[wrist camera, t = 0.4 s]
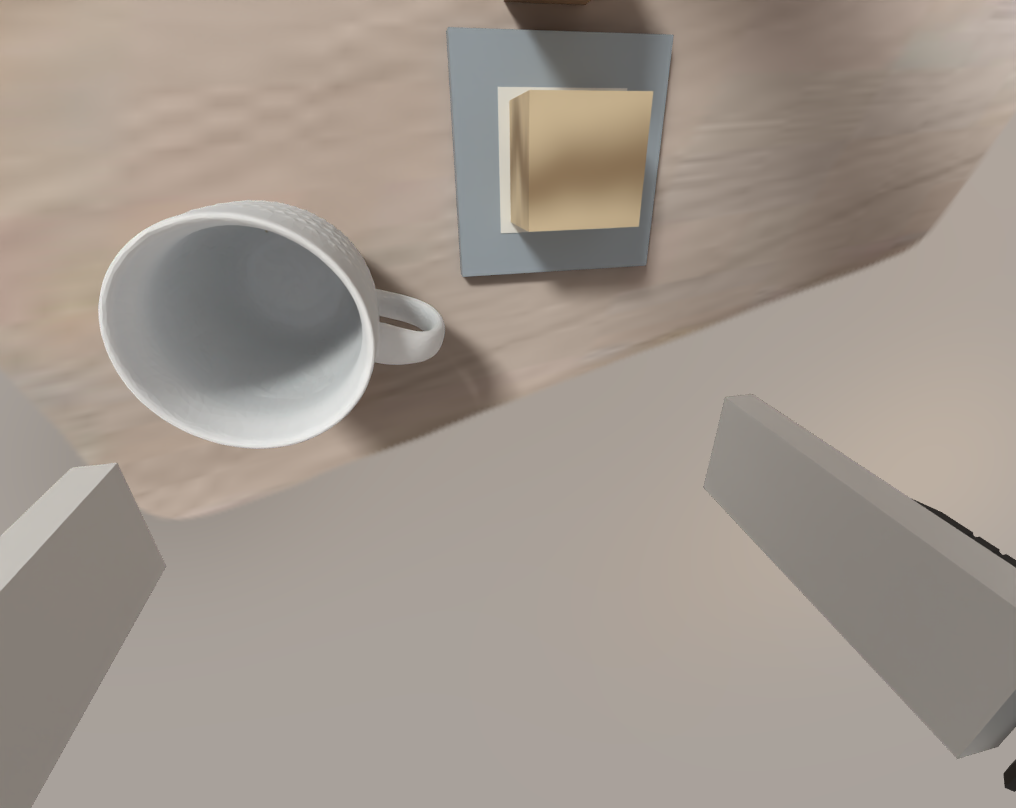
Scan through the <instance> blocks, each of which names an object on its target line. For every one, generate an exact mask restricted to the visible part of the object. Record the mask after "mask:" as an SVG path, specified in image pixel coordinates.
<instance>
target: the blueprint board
mask: <svg viewBox="0 0 1016 808" xmlns="http://www.w3.org/2000/svg"><path fill="white" fill-rule="evenodd" d="M446 36H447V52H448V69H449V85H450V101H451V118H452V134H453V151H454V167H455V183H456V200H457V216H458V233H459V249H460V265H461V275H462V276H463V277H468V276H484V275H500V274H517V273H533V272H549V271H565V270H581V269H597V268H613V267H629V266H645V265H646V262H647V254H648V245H649V237H650V228H651V220H652V212H653V203H654V195H655V186H656V178H657V170H658V161H659V153H660V144H661V136H662V128H663V119H664V111H665V102H666V94H667V86H668V77H669V69H670V61H671V52H672V44H673V35H666V34H636V33H606V32H576V31H546V30H516V29H486V28H456V27H448V28H447V31H446ZM528 90H588V91H653V99H652V108H651V118H650V127H649V136H648V145H647V155H646V164H645V173H644V183H643V192H642V201H641V210H640V220H639V227H621V228H600V229H578V230H556V231H534V232H528V231H526V230H525V229H523V228H521V227H519V226H517V225H515V224H513V223H511V203H510V118H509V101H510V100H511V99H513V98H515V97H517V96H519V95H521V94H523V93H525V92H527V91H528Z"/></svg>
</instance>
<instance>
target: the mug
mask: <svg viewBox="0 0 1016 808" xmlns="http://www.w3.org/2000/svg"><path fill="white" fill-rule="evenodd" d="M379 316H383V317H387V318H391V319H395V320H400V321H403V322H407V323H409V324H412V325H414V326H416V327H418V328H420V329H421V330H423V331H424V332H423V331H414V330H409V329H405V328H401V327H397V326H394V325H390V324H387V323H382V322H380V321H379V319H380V317H379ZM99 323H100V330H101V335H102V339H103V342H104V345H105V348H106V351H107V353H108V356H109V358H110V360H111V362H112V364H113V366H114V368H115V369H116V371H117V373H118V374H119V376H120V377H121V379H122V380H123V382H124V383H125V384H126V386H127V387H128V388H129V389H130V390H131V392H132V393H133V394H134V395H135V396H136V397H137V398H138V399H139V400H140V401H141V402H142V403H143V404H144V405H145V406H147V407H148V408H149V409H150V410H151V411H153V412H154V413H155V414H157V415H158V416H159V417H161V418H162V419H164V420H165V421H167V422H168V423H170V424H172V425H174V426H175V427H177V428H179V429H181V430H183V431H185V432H187V433H189V434H192V435H194V436H197V437H199V438H202V439H205V440H208V441H212V442H215V443H219V444H223V445H228V446H233V447H240V448H253V449H260V448H277V447H284V446H289V445H293V444H297V443H301V442H303V441H306V440H309V439H311V438H314V437H316V436H318V435H320V434H322V433H323V432H325V431H327V430H329V429H330V428H332V427H333V426H334V425H336V424H337V423H338V422H340V421H341V420H342V419H343V418H344V417H345V416H347V415H348V414H349V413H350V411H351V410H352V409H353V408H354V407H355V405H356V404H357V403H358V401H359V400H360V399H361V397H362V395H363V394H364V392H365V390H366V388H367V386H368V383H369V381H370V378H371V375H372V372H373V368H374V363H375V362H376V363H381V364H391V365H403V364H412V363H418V362H422V361H425V360H427V359H430V358H431V357H433V356H434V355H435V354H436V353H437V352H438V351H439V349H440V348H441V345H442V343H443V339H444V335H445V324H444V321H443V319H442V317H441V315H440V314H439V312H438V311H437V310H436V309H435V308H433V307H432V306H431V305H429V304H427V303H425V302H423V301H421V300H418V299H415V298H412V297H409V296H405V295H402V294H398V293H394V292H389V291H384V290H380V289H375V285H374V280H373V279H372V276H371V274H370V270H369V268H368V267H367V265H366V263H365V260H364V258H363V257H362V256H361V254H360V252H359V251H358V250H357V249H356V247H355V245H354V244H353V243H352V242H351V241H349V239H348V238H347V237H346V236H345V235H344V234H343V233H342V232H341V231H340V230H338V229H336V228H335V226H333V225H332V224H330V223H328V222H327V221H326V220H325V219H323V218H320V217H318V216H317V215H315V214H313V213H310V212H308V211H307V210H303V209H300V208H297V207H296V206H291V205H288V204H284V203H278V202H267V201H264V200H261V201H257V200H255V201H252V200H245V201H239V202H238V201H234V202H228V203H218V204H215V205H213V206H206V207H202V208H200V209H192V210H190V211H188V212H186V213H183V214H180V215H177V216H174V217H170V218H167V219H165V220H162V221H160V222H158V223H156V224H154V225H152V226H150V227H148V228H146V229H145V230H143V231H142V232H140V233H139V234H137V235H136V236H135V237H134V238H132V239H131V240H130V241H129V242H128V243H127V244H126V245H125V246H124V247H123V248H122V249H121V250H120V251H119V253H118V254H117V256H116V257H115V258H114V260H113V262H112V263H111V265H110V267H109V268H108V270H107V272H106V274H105V277H104V280H103V283H102V288H101V292H100V298H99Z"/></svg>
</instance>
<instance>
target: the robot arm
mask: <svg viewBox="0 0 1016 808" xmlns="http://www.w3.org/2000/svg"><path fill="white" fill-rule="evenodd" d="M704 489H705V490H706V491H707V492H708V493H709V494H710V495H711V496H712V497H713V498H714V499H715V500H716V502H717V503H718V504H719V505H720V506H721V507H722V508H723V509H724V510H725V511H726V512H727V513H728V514H729V515H730V517H731V518H732V519H733V520H734V521H735V522H736V523H737V524H738V525H739V526H740V527H741V528H742V529H743V530H744V531H745V533H746V534H747V535H748V536H749V537H750V538H751V539H752V540H753V541H754V542H755V543H756V544H757V545H758V546H759V547H760V549H761V550H762V551H763V552H764V553H765V554H766V555H767V556H768V557H769V558H770V559H771V560H772V561H773V562H774V563H775V565H776V566H778V568H779V569H780V570H781V571H782V572H783V573H784V574H785V575H786V576H787V577H788V578H789V579H790V581H791V582H792V583H793V584H794V585H795V586H796V587H797V588H798V589H799V590H800V591H801V592H802V593H803V595H804V596H805V597H806V598H807V599H808V600H809V601H810V602H811V603H812V604H813V605H814V606H815V607H816V608H817V609H818V611H820V613H821V614H822V615H823V616H824V617H825V618H826V619H827V620H828V621H829V622H830V623H831V624H832V625H833V627H834V628H835V629H836V630H837V631H838V632H839V633H840V634H841V635H842V636H843V637H844V638H845V639H846V640H847V641H848V643H849V644H850V645H851V646H852V647H853V648H854V649H855V650H856V651H857V652H858V653H859V654H860V655H861V656H862V658H863V659H864V660H865V661H866V662H867V663H868V664H869V665H870V666H871V667H872V668H873V669H874V670H875V671H876V673H878V675H879V676H880V677H881V678H882V679H883V680H884V681H885V682H886V683H887V684H888V685H889V686H890V687H891V689H892V690H893V691H894V692H895V693H896V694H897V695H898V696H899V697H900V698H901V699H902V700H903V701H904V702H905V703H906V704H907V706H908V707H909V708H910V709H911V710H912V711H913V712H914V713H915V714H916V715H917V716H918V717H919V718H920V719H921V721H922V722H923V723H924V724H925V725H926V726H927V727H928V728H929V729H930V730H931V731H932V732H933V733H934V735H936V737H937V738H938V739H939V740H940V741H941V742H942V743H943V744H944V745H945V746H946V747H947V748H948V749H949V750H950V752H951V753H952V754H953V755H954V756H955V757H956V758H957V759H959V758H962V757H965V756H969V755H972V754H976V753H979V752H982V751H985V750H989V749H992V748H995V747H998V746H999V745H1000V744H1001V743H1002V741H1003V740H1004V739H1005V738H1006V737H1007V736H1008V735H1009V734H1010V733H1011V731H1012V730H1013V729H1014V728H1015V727H1016V560H1015V559H1013V558H1011V557H1010V556H1008V555H1006V554H1005V555H1002V554H1001V553H1000V552H999V549H998V548H996V547H995V546H993V545H991V544H990V543H988V542H987V541H985V540H984V539H982V538H981V537H975V536H974V535H973V532H971V531H970V530H968V529H967V528H965V527H964V526H962V525H960V524H959V523H958V522H956V521H954V520H953V519H951V518H950V517H948V516H947V515H945V514H943V513H942V512H940V511H938V510H936V509H933V508H931V507H929V506H927V505H924V504H922V503H920V502H918V501H916V500H913V499H911V498H909V497H908V496H906V495H905V494H903V493H902V492H900V491H899V490H897V489H896V488H894V487H893V486H891V485H890V484H888V483H887V482H885V481H884V480H882V479H881V478H879V477H878V476H876V475H875V474H873V473H871V472H870V471H868V470H867V469H865V468H864V467H862V466H861V465H859V464H858V463H856V462H855V461H853V460H852V459H850V458H849V457H847V456H846V455H844V454H843V453H841V452H840V451H838V450H837V449H835V448H834V447H832V446H831V445H829V444H827V443H826V442H824V441H823V440H821V439H820V438H818V437H817V436H815V435H814V434H812V433H811V432H809V431H808V430H806V429H805V428H803V427H802V426H800V425H799V424H797V423H795V422H794V421H793V420H791V419H790V418H788V417H786V416H785V415H784V414H782V413H781V412H779V411H778V410H776V409H775V408H773V407H771V406H770V405H768V404H767V403H765V402H764V401H762V400H761V399H759V398H758V397H756V396H755V395H753V394H748V395H740V396H730V397H725V399H724V403H723V407H722V412H721V416H720V420H719V424H718V428H717V433H716V437H715V441H714V445H713V449H712V453H711V458H710V462H709V466H708V470H707V474H706V478H705V483H704ZM165 568H166V564H165V563H164V560H163V558H162V556H161V554H160V552H159V550H158V548H157V546H156V544H155V541H154V539H153V537H152V535H151V533H150V531H149V529H148V527H147V524H146V522H145V520H144V518H143V516H142V514H141V512H140V510H139V507H138V505H137V503H136V501H135V499H134V497H133V495H132V493H131V491H130V488H129V486H128V484H127V482H126V480H125V478H124V476H123V474H122V472H121V470H120V467H119V465H118V463H111V464H102V465H92V466H83V467H74V468H71V469H70V470H69V471H68V472H67V473H66V474H65V475H64V476H63V477H61V479H59V480H58V481H57V482H56V483H55V484H54V485H53V486H52V487H51V488H50V489H49V490H48V491H47V492H46V493H45V494H44V495H43V496H42V497H41V498H40V499H39V500H37V502H35V503H34V504H33V505H32V506H31V507H30V508H29V509H28V510H27V511H26V512H25V513H24V514H23V515H22V516H21V517H20V518H19V519H18V520H17V521H16V522H15V523H13V524H12V525H11V526H10V527H9V528H8V529H7V530H6V531H5V532H4V533H3V534H2V535H1V536H0V808H31V807H32V805H33V803H34V802H35V800H36V798H37V796H38V794H39V793H40V791H41V789H42V787H43V786H44V784H45V782H46V780H47V778H48V777H49V775H50V773H51V771H52V770H53V768H54V766H55V764H56V762H57V761H58V759H59V757H60V755H61V753H62V752H63V750H64V748H65V746H66V744H67V743H68V741H69V739H70V737H71V735H72V733H73V732H74V730H75V728H76V726H77V725H78V723H79V721H80V720H81V718H82V716H83V714H84V712H85V711H86V709H87V707H88V705H89V703H90V702H91V700H92V698H93V696H94V694H95V693H96V691H97V689H98V687H99V686H100V684H101V682H102V680H103V678H104V677H105V675H106V673H107V671H108V669H109V668H110V666H111V664H112V662H113V661H114V659H115V657H116V655H117V653H118V651H119V650H120V648H121V646H122V645H123V643H124V641H125V639H126V637H127V636H128V634H129V632H130V630H131V628H132V627H133V625H134V623H135V621H136V620H137V618H138V616H139V614H140V612H141V611H142V609H143V607H144V605H145V603H146V602H147V600H148V598H149V596H150V594H151V593H152V591H153V589H154V587H155V586H156V583H157V582H158V580H159V578H160V576H161V575H162V573H163V571H164V570H165ZM1004 784H1005V788H1007V789H1009V790H1012V791H1014V792H1015V791H1016V760H1015V761H1014V762H1013V763H1012V764H1011V765H1010V766H1009V767H1008V769H1007V770H1006V771H1005V772H1004Z"/></svg>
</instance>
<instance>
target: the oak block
mask: <svg viewBox="0 0 1016 808" xmlns="http://www.w3.org/2000/svg"><path fill="white" fill-rule="evenodd" d="M652 99H653V91H588V90H528V91H527V92H525V93H523V94H521V95H519V96H517V97H515V98H513V99H511V100H510V101H509V118H510V203H511V223H513V224H515V225H517V226H519V227H521V228H523V229H525V230H526V231H528V232H534V231H556V230H578V229H600V228H621V227H639V220H640V210H641V201H642V192H643V183H644V173H645V164H646V155H647V145H648V136H649V127H650V118H651V108H652Z"/></svg>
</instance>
